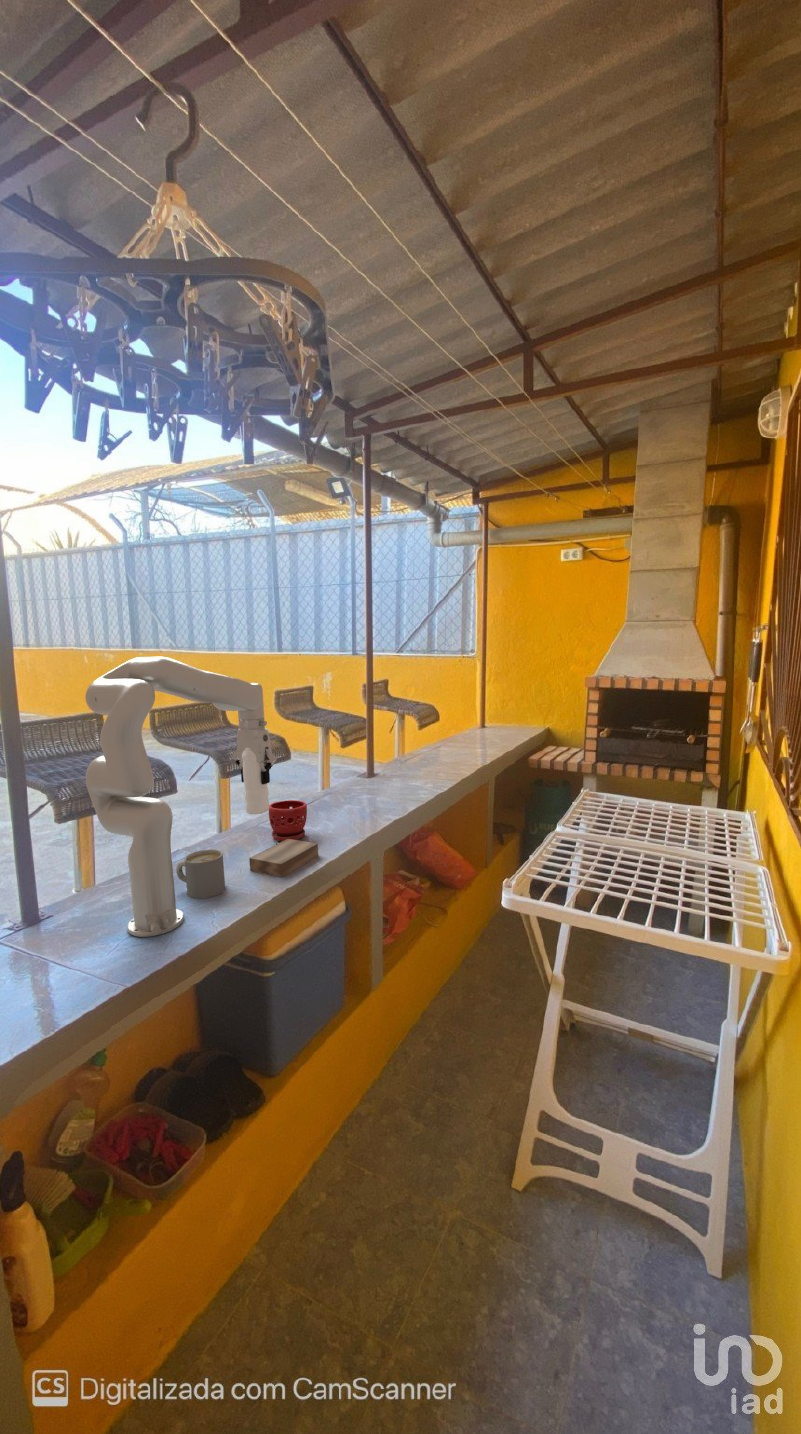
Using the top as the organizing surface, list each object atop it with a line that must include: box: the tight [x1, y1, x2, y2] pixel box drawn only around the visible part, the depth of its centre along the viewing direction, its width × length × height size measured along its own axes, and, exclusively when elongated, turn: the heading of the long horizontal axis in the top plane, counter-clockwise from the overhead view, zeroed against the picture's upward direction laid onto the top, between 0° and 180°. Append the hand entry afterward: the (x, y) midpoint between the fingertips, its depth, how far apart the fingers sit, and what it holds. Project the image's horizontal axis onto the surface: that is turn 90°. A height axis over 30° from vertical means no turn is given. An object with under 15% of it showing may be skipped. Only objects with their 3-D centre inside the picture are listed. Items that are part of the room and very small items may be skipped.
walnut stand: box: [248, 839, 319, 878], centre depth 173 cm, size 12×18×4 cm, turn 153°
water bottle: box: [242, 737, 270, 815], centre depth 170 cm, size 7×7×25 cm
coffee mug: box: [176, 849, 226, 900], centre depth 155 cm, size 13×10×10 cm
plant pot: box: [268, 799, 308, 842], centre depth 196 cm, size 13×13×12 cm
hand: (255, 781), depth 170 cm, fingers closed on water bottle, 7 cm apart
